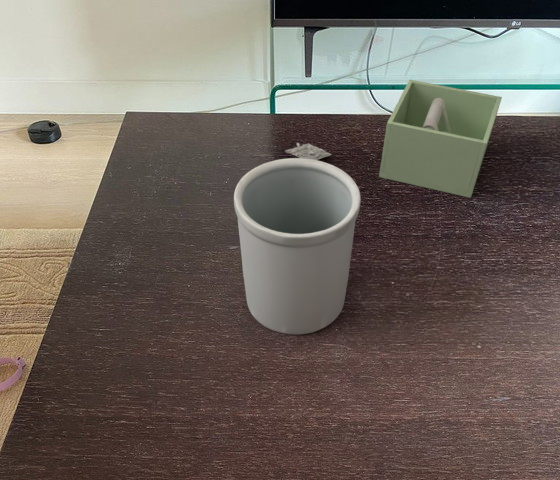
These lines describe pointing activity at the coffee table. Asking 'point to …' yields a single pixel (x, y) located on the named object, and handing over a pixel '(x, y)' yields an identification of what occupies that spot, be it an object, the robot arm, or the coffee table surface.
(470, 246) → the coffee table surface
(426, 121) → the tablet stand
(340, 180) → the utensil holder
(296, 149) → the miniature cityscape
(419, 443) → the coffee table surface
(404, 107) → the bin
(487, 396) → the coffee table surface
